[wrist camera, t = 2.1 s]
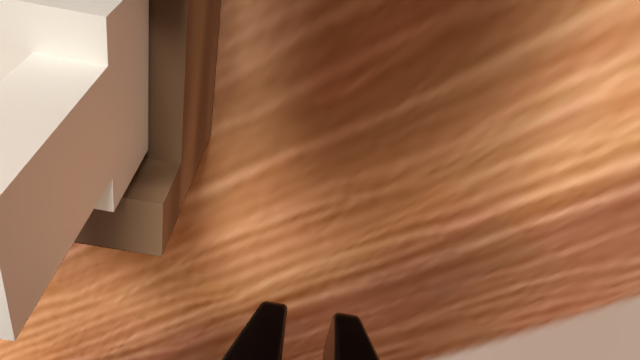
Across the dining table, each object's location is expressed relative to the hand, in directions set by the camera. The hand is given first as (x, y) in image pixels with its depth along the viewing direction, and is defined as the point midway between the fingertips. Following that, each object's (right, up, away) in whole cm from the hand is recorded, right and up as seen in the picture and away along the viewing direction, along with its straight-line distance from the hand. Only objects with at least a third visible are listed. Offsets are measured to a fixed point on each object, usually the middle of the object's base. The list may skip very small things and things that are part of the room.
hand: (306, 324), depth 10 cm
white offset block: (-6, +6, +6) cm, 10 cm away
